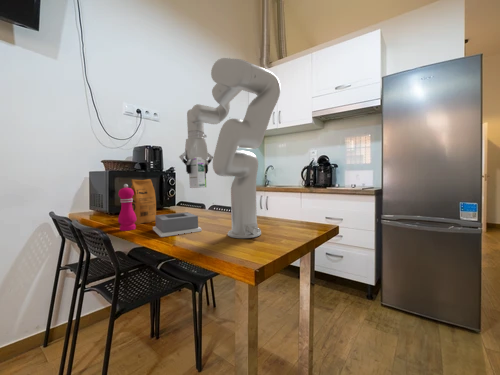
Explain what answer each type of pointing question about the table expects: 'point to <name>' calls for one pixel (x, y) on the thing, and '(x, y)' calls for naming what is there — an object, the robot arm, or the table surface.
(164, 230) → the socket
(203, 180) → the syrup box
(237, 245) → the table surface
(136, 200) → the coffee package
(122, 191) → the pepper mill
